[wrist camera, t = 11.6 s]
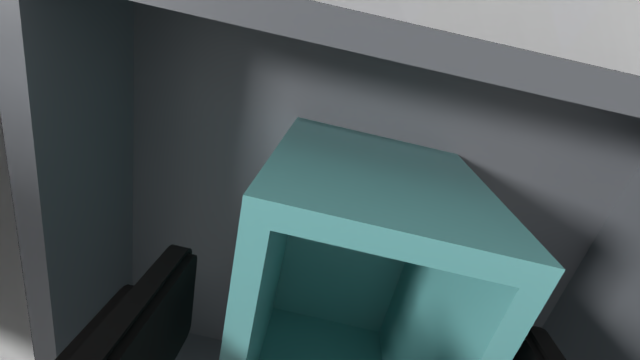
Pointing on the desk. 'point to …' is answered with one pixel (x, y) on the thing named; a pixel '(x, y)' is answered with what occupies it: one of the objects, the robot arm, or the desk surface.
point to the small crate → (378, 256)
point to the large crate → (269, 129)
